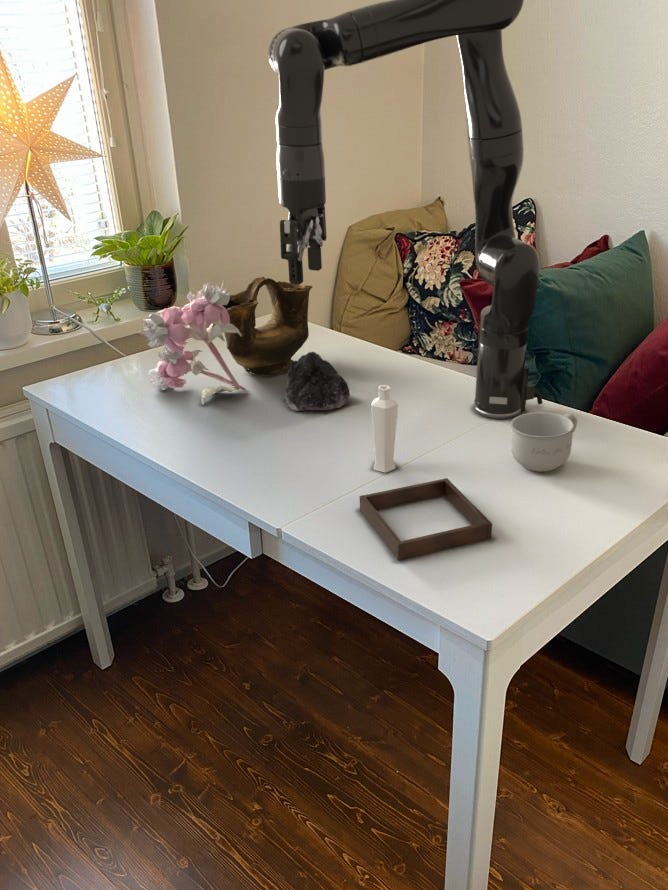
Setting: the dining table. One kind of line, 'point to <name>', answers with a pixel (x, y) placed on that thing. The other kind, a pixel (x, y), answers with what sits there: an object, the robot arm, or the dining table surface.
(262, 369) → the pottery vessel
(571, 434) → the teacup
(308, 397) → the crystal cluster
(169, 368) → the flower
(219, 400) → the dining table surface
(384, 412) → the perfume bottle
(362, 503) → the walnut frame
